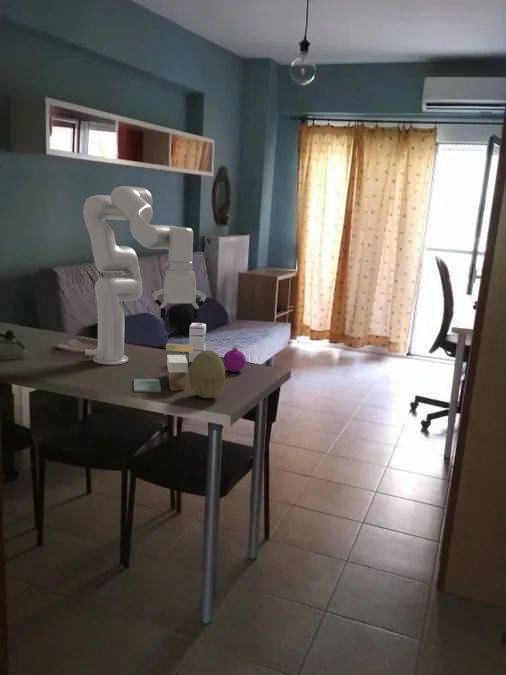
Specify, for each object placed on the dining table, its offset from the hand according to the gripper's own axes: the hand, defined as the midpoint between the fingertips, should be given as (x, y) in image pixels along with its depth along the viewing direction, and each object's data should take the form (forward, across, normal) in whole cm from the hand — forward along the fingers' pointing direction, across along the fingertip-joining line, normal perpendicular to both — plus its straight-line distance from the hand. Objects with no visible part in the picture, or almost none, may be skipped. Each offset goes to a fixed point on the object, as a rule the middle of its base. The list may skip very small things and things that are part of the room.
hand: (178, 320), depth 190 cm
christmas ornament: (+22, +22, +17) cm, 36 cm away
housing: (+22, 0, +4) cm, 22 cm away
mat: (+22, -10, -1) cm, 24 cm away
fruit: (+22, +8, -12) cm, 27 cm away
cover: (+16, 0, 0) cm, 16 cm away
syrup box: (+22, +10, +31) cm, 39 cm away
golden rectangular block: (+17, +1, +9) cm, 19 cm away
